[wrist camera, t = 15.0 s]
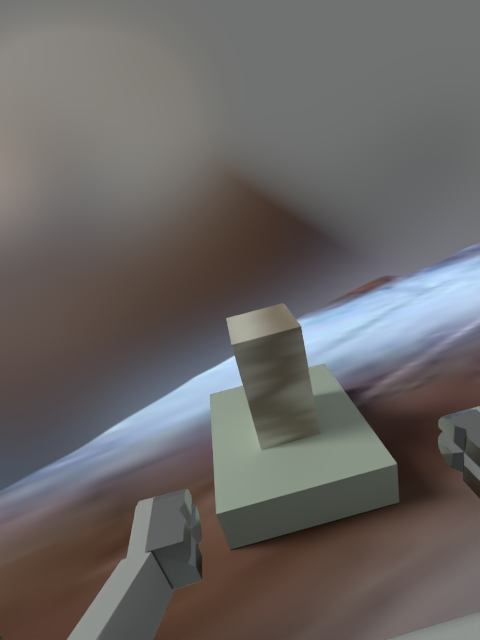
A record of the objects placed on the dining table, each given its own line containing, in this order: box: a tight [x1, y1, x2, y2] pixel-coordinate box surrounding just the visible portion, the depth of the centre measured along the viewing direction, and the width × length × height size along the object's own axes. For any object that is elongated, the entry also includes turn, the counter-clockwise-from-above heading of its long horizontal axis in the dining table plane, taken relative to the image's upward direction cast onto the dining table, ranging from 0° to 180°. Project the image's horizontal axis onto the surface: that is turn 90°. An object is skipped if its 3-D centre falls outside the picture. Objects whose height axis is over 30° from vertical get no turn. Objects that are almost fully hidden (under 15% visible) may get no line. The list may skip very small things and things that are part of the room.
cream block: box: [227, 303, 320, 450], centre depth 27 cm, size 5×5×10 cm
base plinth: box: [210, 364, 399, 550], centre depth 29 cm, size 13×14×4 cm
